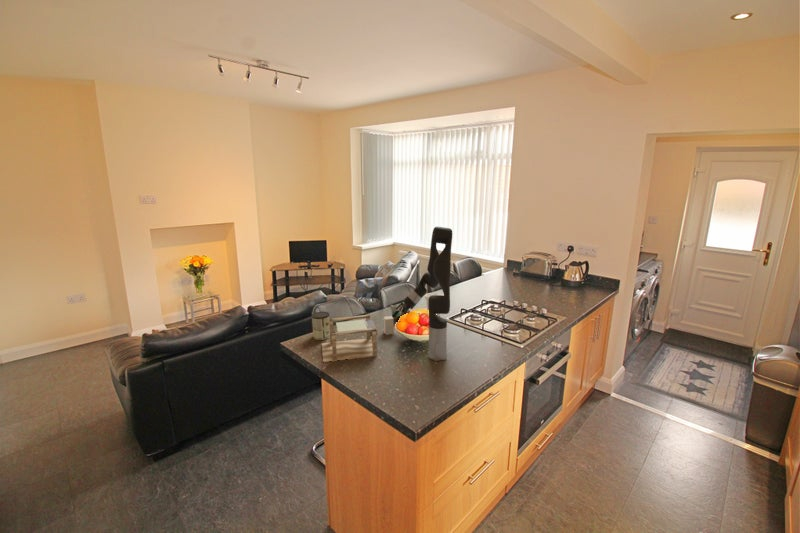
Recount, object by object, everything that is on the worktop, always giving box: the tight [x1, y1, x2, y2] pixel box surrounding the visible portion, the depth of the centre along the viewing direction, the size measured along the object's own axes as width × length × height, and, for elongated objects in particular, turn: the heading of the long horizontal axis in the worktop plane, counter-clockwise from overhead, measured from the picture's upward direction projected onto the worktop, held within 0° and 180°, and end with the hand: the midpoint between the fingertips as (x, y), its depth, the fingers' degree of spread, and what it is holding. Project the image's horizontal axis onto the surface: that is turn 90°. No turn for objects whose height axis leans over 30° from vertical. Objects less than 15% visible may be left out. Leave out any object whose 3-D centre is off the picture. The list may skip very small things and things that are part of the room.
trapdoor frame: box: [321, 314, 378, 363], centre depth 198 cm, size 23×28×15 cm
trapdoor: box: [335, 318, 378, 337], centre depth 198 cm, size 18×20×4 cm
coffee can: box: [311, 311, 330, 341], centre depth 217 cm, size 10×10×14 cm
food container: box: [389, 303, 402, 322], centre depth 242 cm, size 12×6×10 cm, turn 62°
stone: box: [383, 315, 395, 336], centre depth 221 cm, size 5×5×10 cm
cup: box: [424, 292, 444, 317], centre depth 248 cm, size 12×12×15 cm
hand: (394, 319), depth 221 cm, fingers open, 8 cm apart
